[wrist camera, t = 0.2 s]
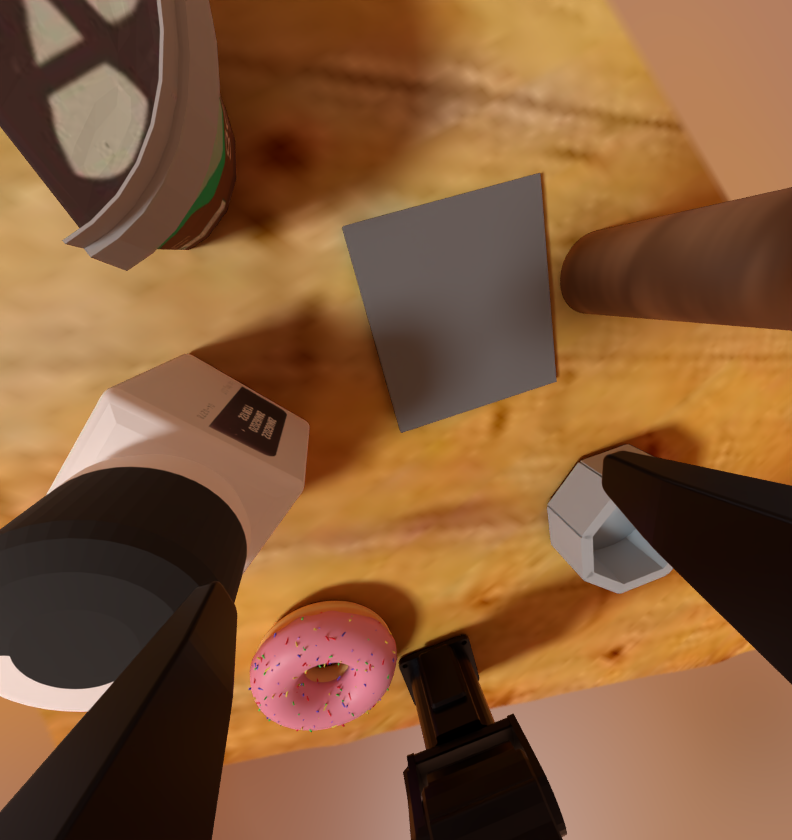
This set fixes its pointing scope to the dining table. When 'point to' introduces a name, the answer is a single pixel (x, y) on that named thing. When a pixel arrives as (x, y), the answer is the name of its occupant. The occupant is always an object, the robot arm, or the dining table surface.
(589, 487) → the bowl
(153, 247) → the food container
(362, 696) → the doughnut
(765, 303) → the pepper mill
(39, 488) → the dining table surface
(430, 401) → the mat
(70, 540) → the container
